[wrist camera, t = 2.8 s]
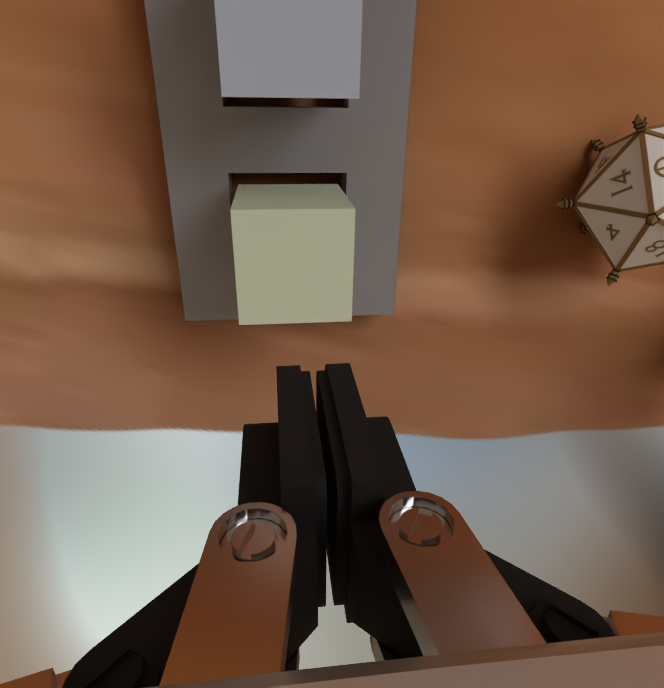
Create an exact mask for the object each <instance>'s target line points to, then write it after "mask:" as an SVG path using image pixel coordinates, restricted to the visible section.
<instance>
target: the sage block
mask: <svg viewBox="0 0 664 688" xmlns="http://www.w3.org/2000/svg"><path fill="white" fill-rule="evenodd" d="M355 210H356V209H355V207H354V206H353V204H352V203H351V202H350V200H349V199H348V197H347V196H346V195H345V193H344V192H343V191H342V189H341V188H340V186H339V185H338V184H238V187H237V190H236V194H235V197H234V200H233V203H232V206H231V209H230V213H231V226H232V239H233V252H234V265H235V278H236V291H237V304H238V317H239V325H256V324H286V323H315V322H345V321H352V298H353V269H354V239H355Z"/></svg>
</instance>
